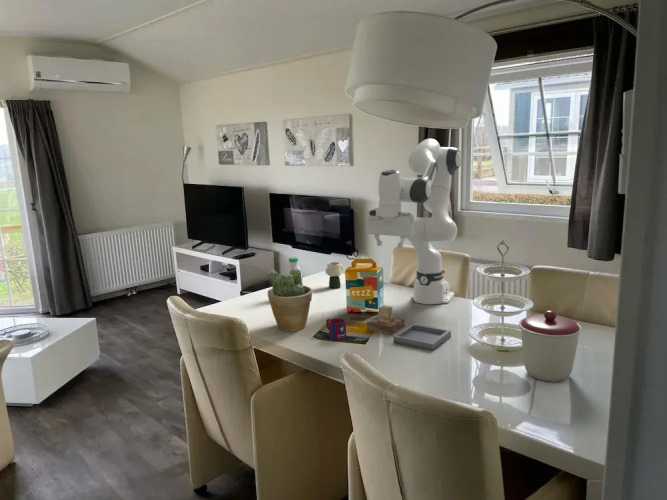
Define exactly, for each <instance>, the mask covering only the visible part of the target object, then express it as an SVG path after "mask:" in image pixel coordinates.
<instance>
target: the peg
mask: <svg viewBox="0 0 667 500" xmlns="http://www.w3.org/2000/svg"><path fill="white" fill-rule="evenodd" d="M378 315H379V321H380V322H385V323H389V322H391V321H393V316H394V313H393V306H391V305H387V304H384V305H381V306H379V312H378Z"/></svg>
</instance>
